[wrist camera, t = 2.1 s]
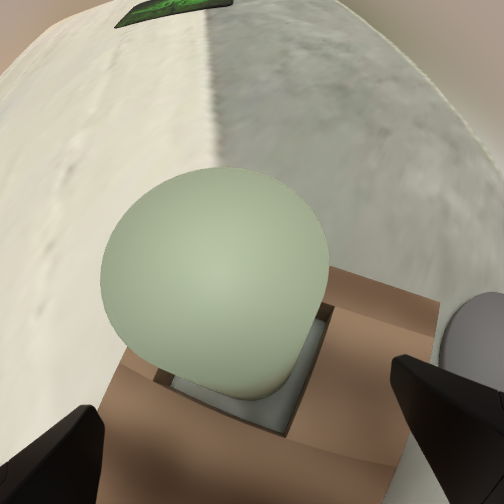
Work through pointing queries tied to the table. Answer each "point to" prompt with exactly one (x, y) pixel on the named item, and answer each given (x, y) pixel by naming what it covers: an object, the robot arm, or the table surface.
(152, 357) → the peg
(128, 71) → the table surface
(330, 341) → the puzzle board
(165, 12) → the mouse mat
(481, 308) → the coaster
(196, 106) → the table surface
